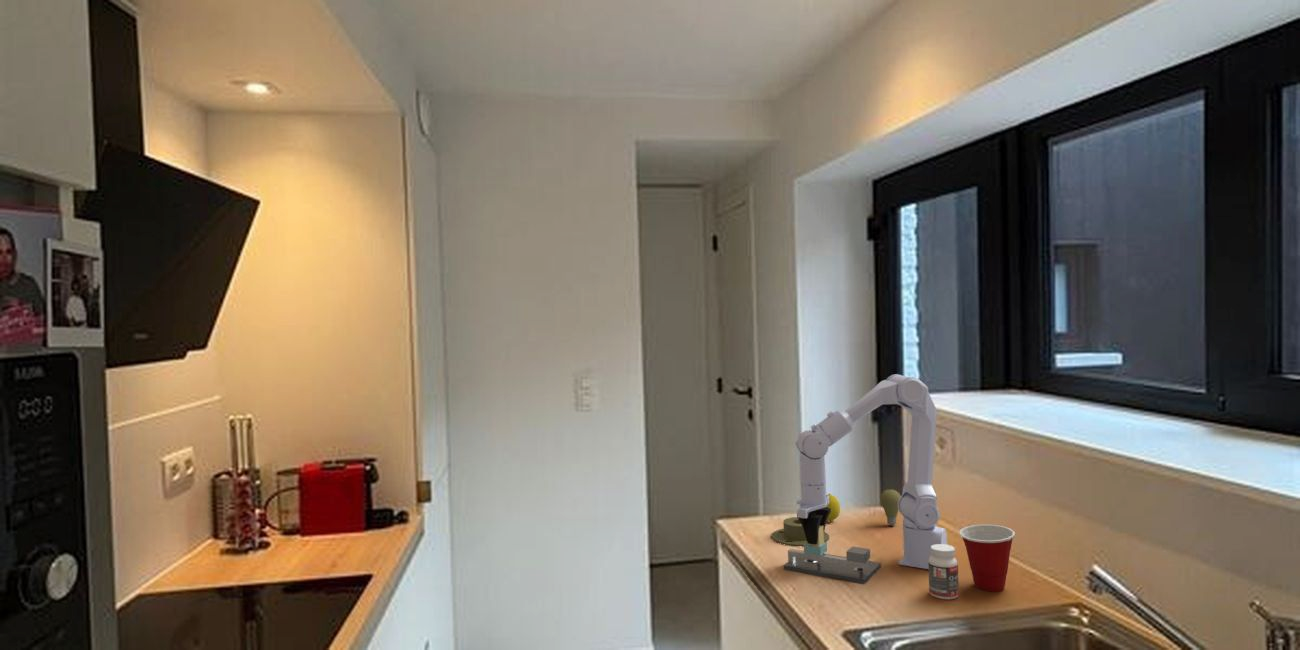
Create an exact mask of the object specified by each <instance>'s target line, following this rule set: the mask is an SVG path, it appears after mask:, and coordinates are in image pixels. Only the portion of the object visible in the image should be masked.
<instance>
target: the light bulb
mask: <svg viewBox="0 0 1300 650" xmlns="http://www.w3.org/2000/svg"><path fill="white" fill-rule="evenodd" d="M901 496H902V495H901V494H900V492H898V491H897V490H895V489H892V488H891V489H889V488H887V489H886V490H884V491H882V493H881V494H880V497H879V499H880V504H881V507H882V509H883V511H884V515H885V516H886V520H887V521H886V522H887V525H889V526H890V527H894V526H895V525H896V524H897V517H898V513H899V509H898V501H899V499H900V497H901Z"/></svg>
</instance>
